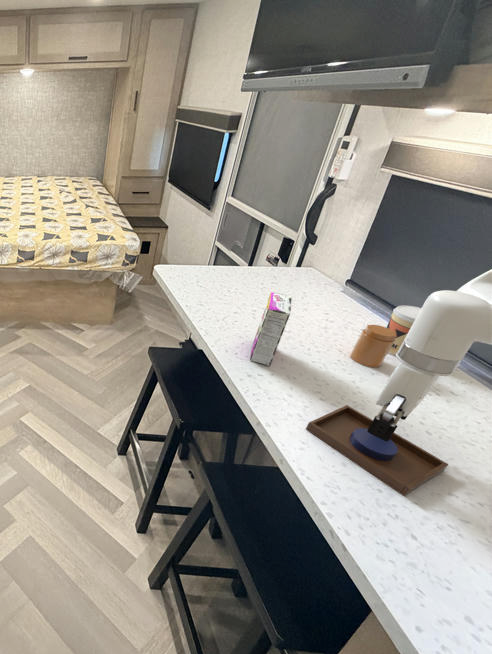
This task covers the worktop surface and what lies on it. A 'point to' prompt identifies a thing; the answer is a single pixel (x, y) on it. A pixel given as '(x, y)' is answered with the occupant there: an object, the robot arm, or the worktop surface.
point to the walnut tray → (398, 473)
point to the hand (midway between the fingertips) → (386, 425)
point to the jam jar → (373, 345)
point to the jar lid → (373, 445)
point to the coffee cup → (401, 324)
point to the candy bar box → (271, 328)
